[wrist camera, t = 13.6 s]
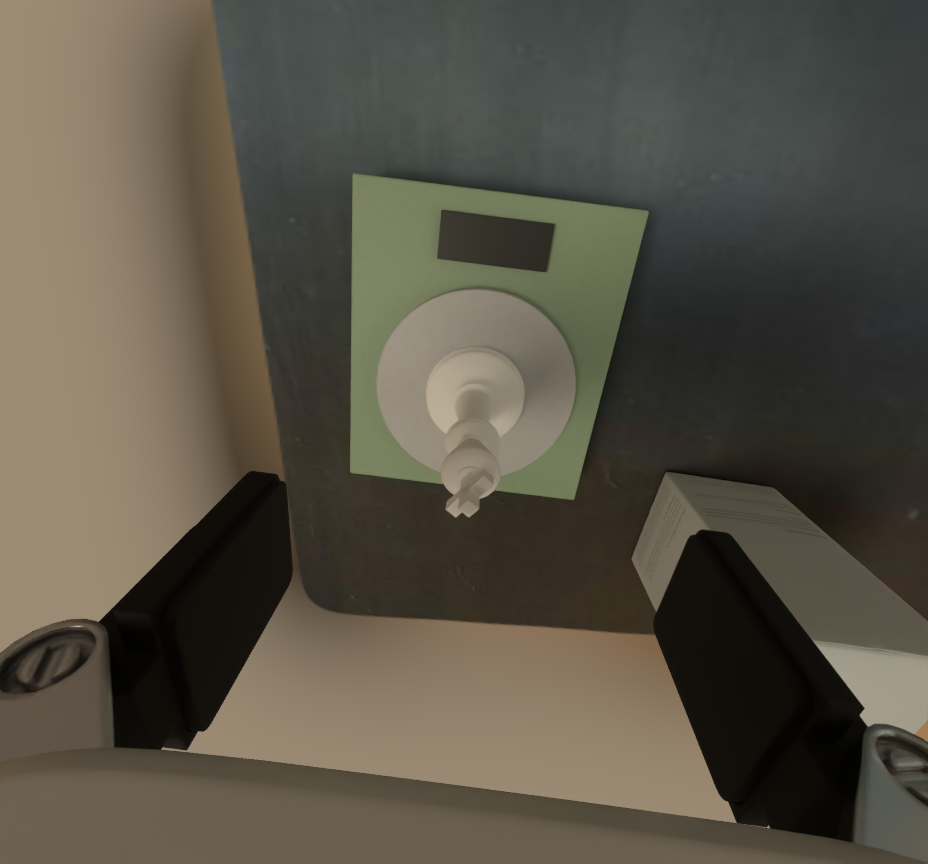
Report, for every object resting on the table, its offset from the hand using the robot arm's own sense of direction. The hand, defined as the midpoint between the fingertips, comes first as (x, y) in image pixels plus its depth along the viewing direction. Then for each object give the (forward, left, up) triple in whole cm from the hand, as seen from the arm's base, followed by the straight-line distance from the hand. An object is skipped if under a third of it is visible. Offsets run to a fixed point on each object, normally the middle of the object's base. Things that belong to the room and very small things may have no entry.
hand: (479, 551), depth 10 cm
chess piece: (+1, 0, -13) cm, 13 cm away
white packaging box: (+9, +16, -17) cm, 25 cm away
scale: (-1, 0, -16) cm, 16 cm away
